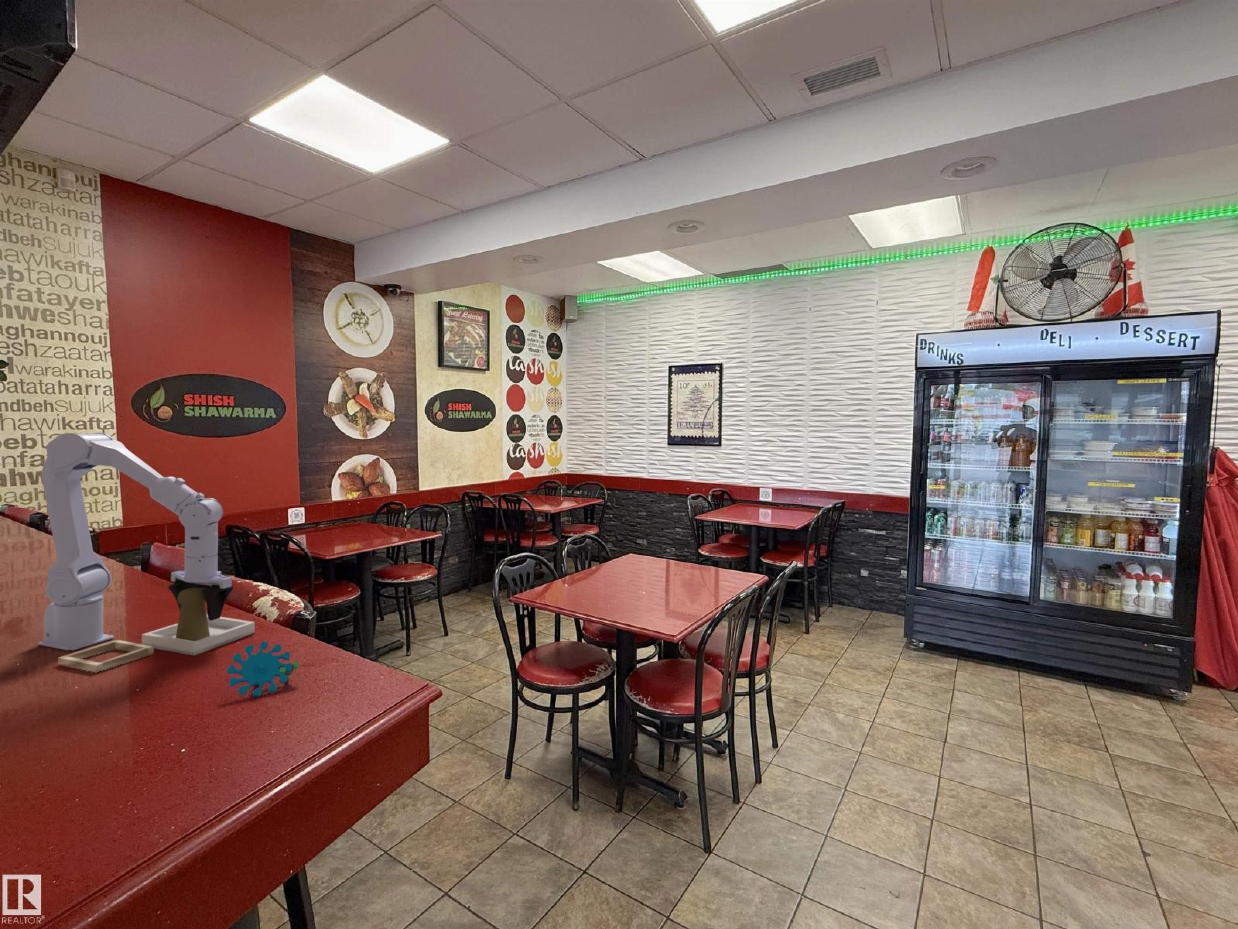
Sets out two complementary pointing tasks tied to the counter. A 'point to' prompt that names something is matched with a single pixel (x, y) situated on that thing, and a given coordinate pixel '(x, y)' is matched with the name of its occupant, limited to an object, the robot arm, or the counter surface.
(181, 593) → the cork
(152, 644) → the tray
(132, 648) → the collar
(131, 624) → the counter surface
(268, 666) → the gear
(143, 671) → the counter surface
